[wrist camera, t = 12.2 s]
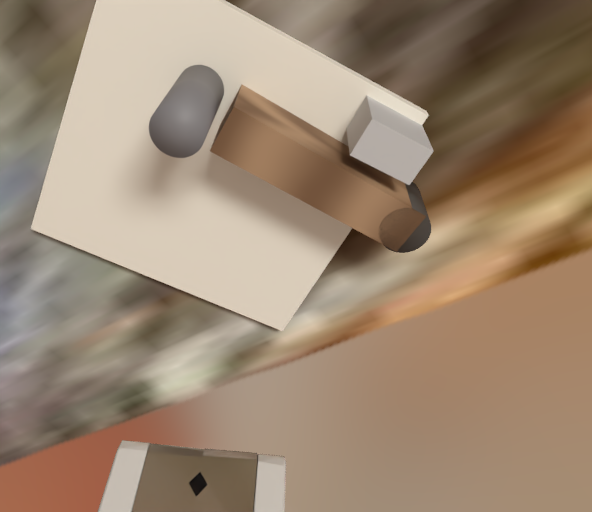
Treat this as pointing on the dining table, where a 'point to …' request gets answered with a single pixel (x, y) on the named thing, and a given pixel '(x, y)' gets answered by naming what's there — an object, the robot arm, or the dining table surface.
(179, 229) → the wall mounted roll holder
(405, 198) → the leg
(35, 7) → the dining table surface
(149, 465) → the robot arm
